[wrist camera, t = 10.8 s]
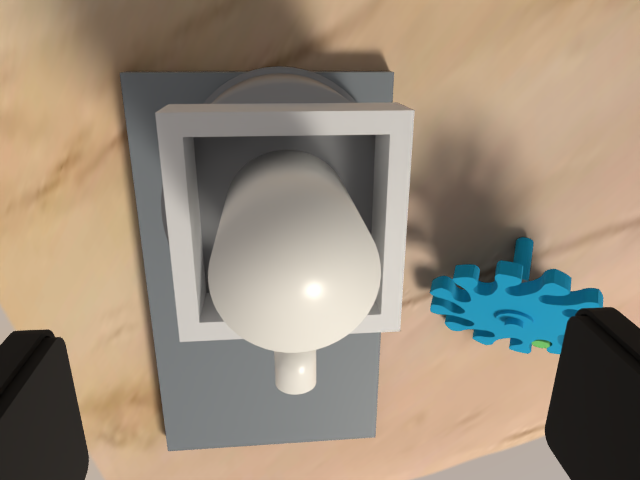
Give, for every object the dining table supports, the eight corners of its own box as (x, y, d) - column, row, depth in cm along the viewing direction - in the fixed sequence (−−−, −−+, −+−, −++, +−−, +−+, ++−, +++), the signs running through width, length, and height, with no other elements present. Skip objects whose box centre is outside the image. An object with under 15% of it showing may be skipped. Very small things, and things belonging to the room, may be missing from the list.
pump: (220, 150, 20) (201, 197, 14) (350, 148, 20) (384, 192, 14) (231, 311, 22) (218, 411, 16) (346, 306, 23) (375, 401, 17)
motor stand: (123, 65, 27) (29, 80, 16) (390, 65, 28) (466, 79, 17) (170, 440, 35) (129, 612, 25) (372, 427, 37) (416, 585, 26)
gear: (391, 299, 31) (544, 270, 24) (412, 220, 34) (555, 170, 26) (502, 373, 36) (659, 368, 28) (512, 297, 39) (659, 274, 31)
